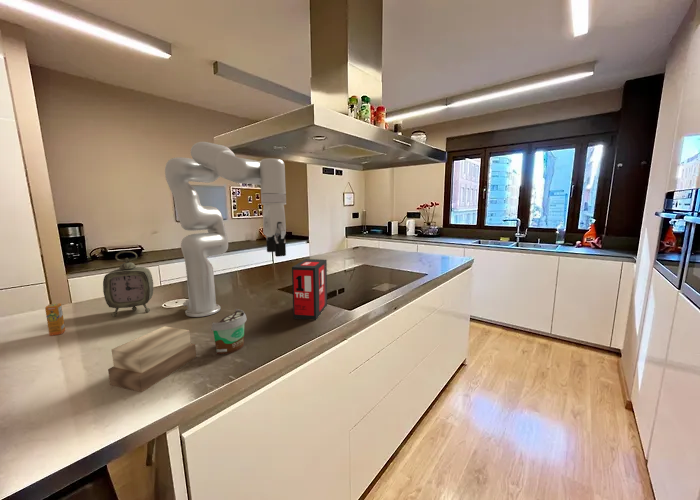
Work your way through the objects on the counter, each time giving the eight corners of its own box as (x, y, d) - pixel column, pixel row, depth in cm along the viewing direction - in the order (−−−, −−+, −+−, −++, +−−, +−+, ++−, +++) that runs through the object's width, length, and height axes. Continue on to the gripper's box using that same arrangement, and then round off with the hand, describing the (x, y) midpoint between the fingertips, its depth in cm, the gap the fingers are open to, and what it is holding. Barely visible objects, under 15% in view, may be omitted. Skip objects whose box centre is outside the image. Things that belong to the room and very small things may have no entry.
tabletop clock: (107, 318, 110) (98, 253, 106) (114, 311, 118) (106, 250, 114) (152, 313, 115) (145, 251, 112) (156, 305, 124) (150, 248, 120)
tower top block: (113, 367, 70) (111, 349, 69) (165, 341, 83) (164, 326, 82) (141, 373, 67) (139, 355, 66) (190, 345, 80) (189, 330, 80)
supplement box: (48, 336, 95) (43, 307, 93) (53, 332, 98) (48, 304, 96) (62, 334, 96) (57, 305, 95) (66, 330, 99) (61, 302, 98)
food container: (232, 359, 81) (230, 325, 79) (213, 356, 82) (210, 323, 81) (255, 339, 93) (254, 309, 91) (238, 337, 94) (236, 308, 92)
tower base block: (110, 386, 69) (108, 369, 69) (168, 354, 85) (167, 339, 84) (142, 393, 67) (140, 375, 66) (196, 358, 82) (195, 344, 81)
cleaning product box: (307, 304, 126) (306, 259, 123) (327, 305, 124) (326, 259, 121) (293, 318, 110) (291, 267, 107) (316, 320, 108) (315, 268, 105)
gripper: (255, 200, 96) (257, 251, 99) (269, 199, 81) (271, 259, 84) (277, 200, 100) (279, 249, 102) (294, 199, 85) (296, 256, 88)
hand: (276, 253), depth 93 cm, fingers open, 9 cm apart
